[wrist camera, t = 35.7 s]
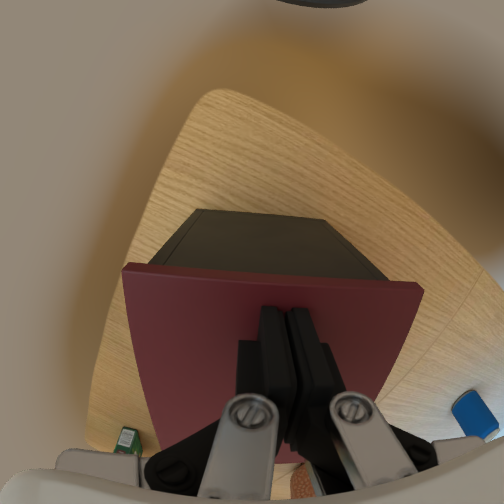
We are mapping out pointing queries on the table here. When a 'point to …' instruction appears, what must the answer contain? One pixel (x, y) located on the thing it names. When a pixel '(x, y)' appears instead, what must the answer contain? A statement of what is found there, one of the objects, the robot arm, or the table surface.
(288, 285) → the keepsake box lid
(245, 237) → the dark gray box
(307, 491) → the planter
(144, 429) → the table surface
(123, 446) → the coffee box
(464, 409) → the beverage can
